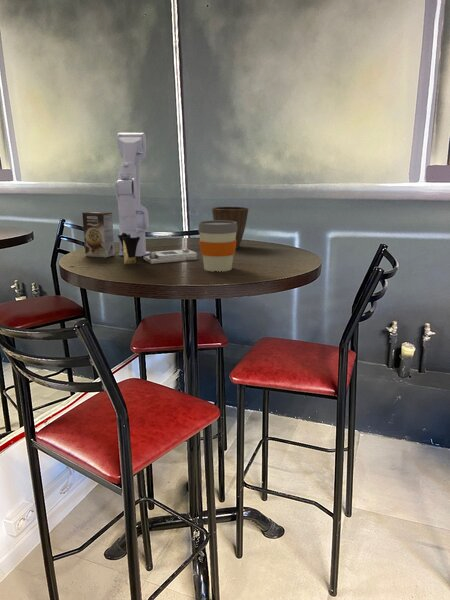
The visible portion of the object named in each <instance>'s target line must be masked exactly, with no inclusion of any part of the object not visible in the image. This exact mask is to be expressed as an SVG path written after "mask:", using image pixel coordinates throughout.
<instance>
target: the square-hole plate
mask: <svg viewBox="0 0 450 600" xmlns="http://www.w3.org/2000/svg"><path fill="white" fill-rule="evenodd" d="M148 252H149V254H148V255H144V256H143V260H145V262H147V263H149V264H152V265H153V264H163V263H175V262H184V261H197V260H198V252H196V251H194V250H191V249H189V248H182V249H174V250H173V249H172V250H161V251H148Z"/></svg>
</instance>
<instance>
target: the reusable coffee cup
mask: <svg viewBox="0 0 450 600" xmlns="http://www.w3.org/2000/svg"><path fill="white" fill-rule="evenodd" d="M197 228H198V229H197V231H198V233H199V240H198V242H199V249H200V254H201V255H202V262H203V269H204V271H207V272H214V271H217V272H218V271H219V273H220V272H221V271H222V272H228V271H231V270H232V269H233V263H234V262H233V261H234V255H235V254H236V249H237V248H236V241H237V240H236V232H237V222H234V221H224V220H204V221H203V220H202V221H199V222H198V227H197Z"/></svg>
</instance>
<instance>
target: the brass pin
mask: <svg viewBox="0 0 450 600" xmlns="http://www.w3.org/2000/svg"><path fill="white" fill-rule="evenodd" d="M123 251H124V255H123V263H124V265H135V264H136V263H137V258H136V257H137V256H136V254H135V257H132V258H129V257H128V254H127V249H126V245H125V242H124V240H123Z"/></svg>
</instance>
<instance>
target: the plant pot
mask: <svg viewBox="0 0 450 600" xmlns="http://www.w3.org/2000/svg"><path fill="white" fill-rule="evenodd" d="M211 214H212V219H213V220H224V221H234V222H237V232H236V240H237V241H236V249H239V248H240V245H241V243H242V240H243V236H244V233H245V229H246V226H247V225H246V224H247V221H248V215H249V207H245V206H244V207H243V206H216V207H212V208H211Z"/></svg>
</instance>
